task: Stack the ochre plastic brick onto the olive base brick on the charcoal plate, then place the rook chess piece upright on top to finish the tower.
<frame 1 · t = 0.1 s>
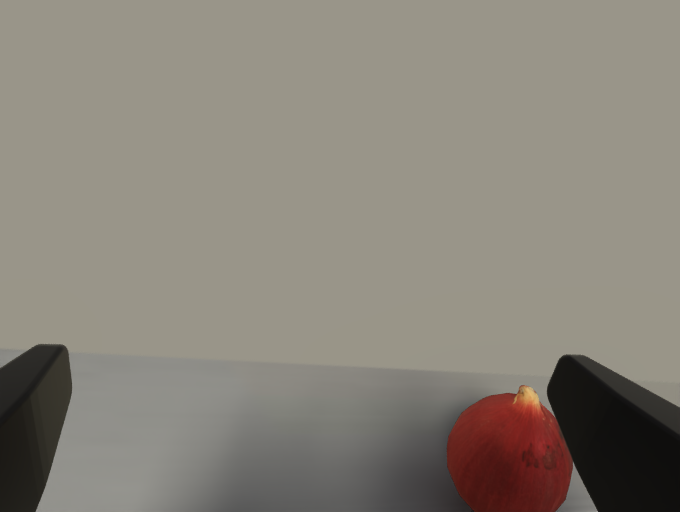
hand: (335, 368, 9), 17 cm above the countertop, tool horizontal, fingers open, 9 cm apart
onion: (485, 509, 27), on the countertop
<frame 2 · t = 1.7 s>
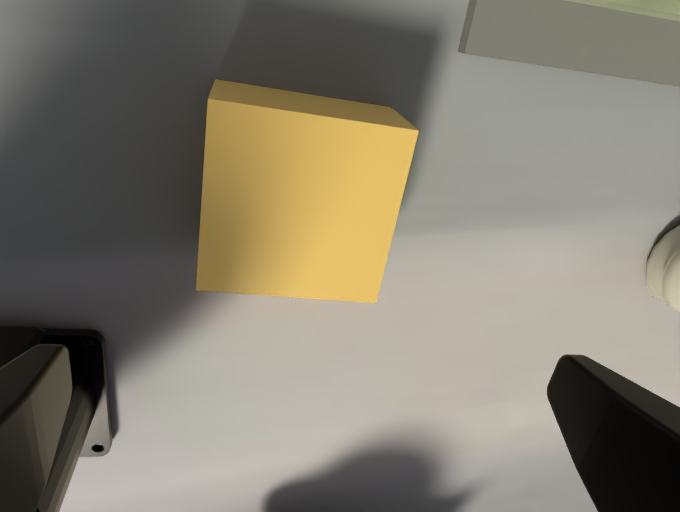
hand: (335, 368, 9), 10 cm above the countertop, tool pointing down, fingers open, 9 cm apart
ochre brick: (294, 176, 18), on the countertop
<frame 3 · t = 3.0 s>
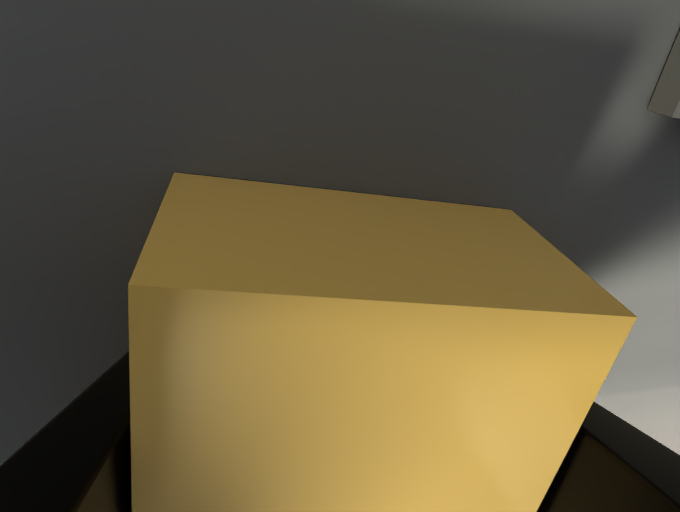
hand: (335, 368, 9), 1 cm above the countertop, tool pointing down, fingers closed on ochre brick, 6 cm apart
ochre brick: (327, 333, 10), on the countertop, touching gripper
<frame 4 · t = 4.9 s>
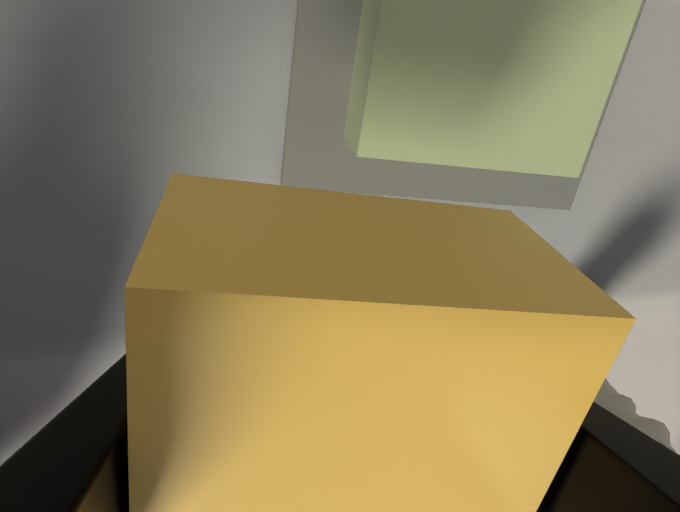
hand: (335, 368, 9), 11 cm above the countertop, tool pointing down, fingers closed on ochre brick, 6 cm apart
baseplate: (467, 31, 18), on the countertop
ochre brick: (326, 334, 10), point 10 cm above the countertop, touching gripper
rook chess piece: (529, 336, 25), on the countertop
when the fingers open (5 cm above the countertop, at t = 6.8 s): ochre brick stays where it is, resting on baseplate.
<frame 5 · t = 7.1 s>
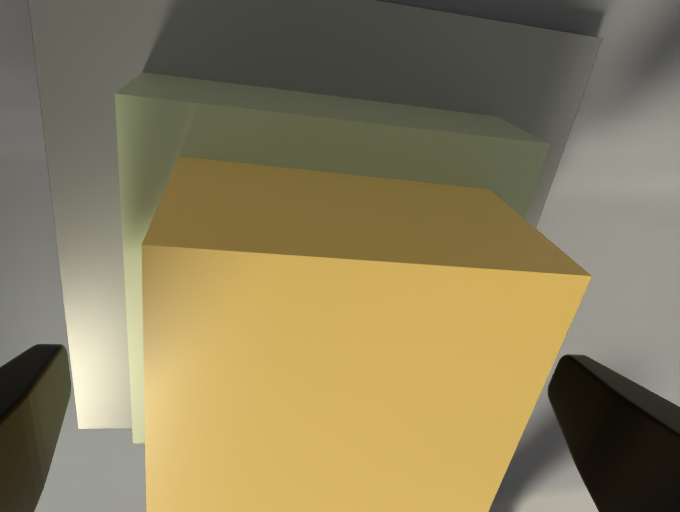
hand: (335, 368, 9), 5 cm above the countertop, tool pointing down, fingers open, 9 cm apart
baseplate: (308, 244, 13), on the countertop
ochre brick: (321, 306, 11), point 3 cm above the countertop, touching baseplate
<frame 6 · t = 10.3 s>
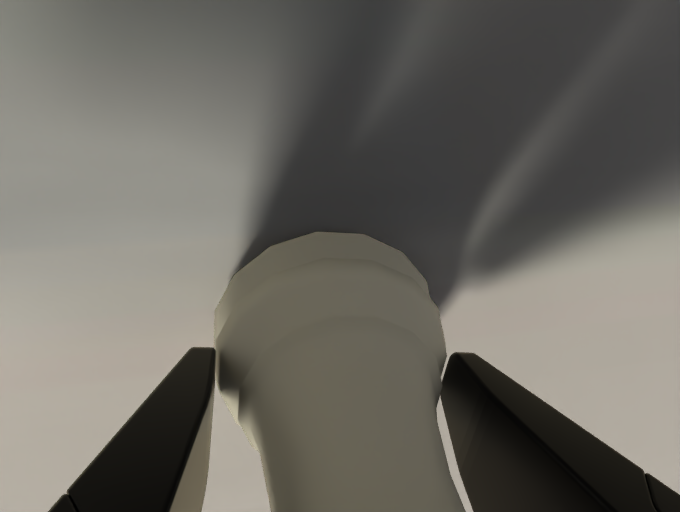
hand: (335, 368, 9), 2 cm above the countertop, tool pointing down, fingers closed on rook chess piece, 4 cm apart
rook chess piece: (322, 312, 11), on the countertop, touching gripper
when the fingers open (9 cm above the countertop, at t = 13.5 s): rook chess piece stays where it is, resting on ochre brick.
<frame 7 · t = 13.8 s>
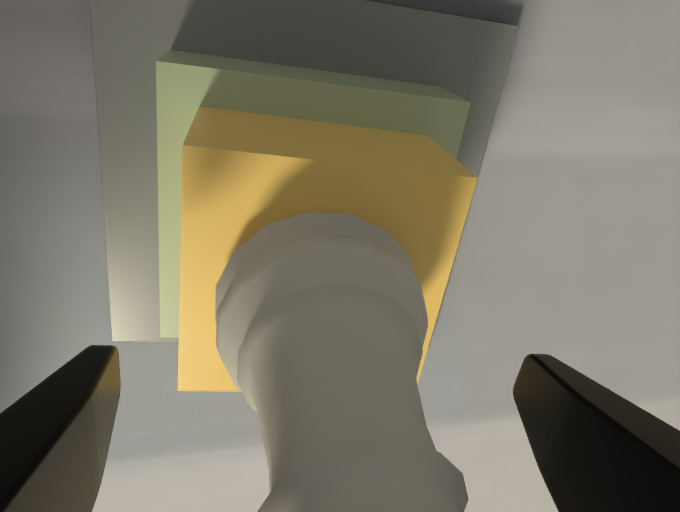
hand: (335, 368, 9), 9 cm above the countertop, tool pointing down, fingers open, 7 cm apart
baseplate: (296, 190, 17), on the countertop
ochre brick: (304, 226, 14), point 3 cm above the countertop, touching baseplate, rook chess piece
rook chess piece: (315, 289, 12), point 6 cm above the countertop, touching ochre brick
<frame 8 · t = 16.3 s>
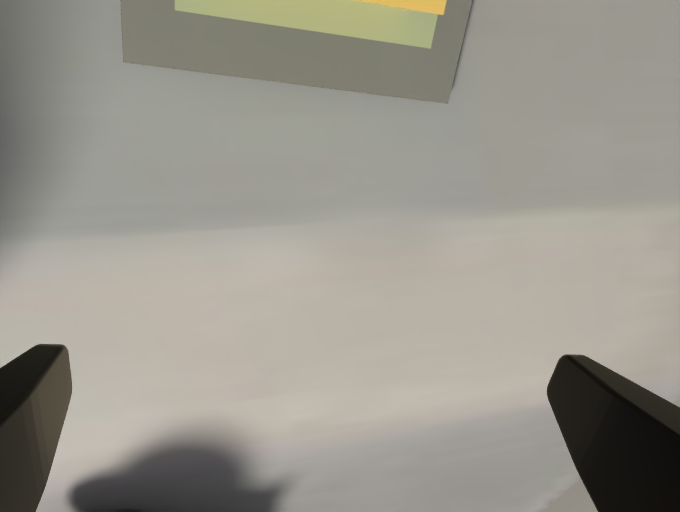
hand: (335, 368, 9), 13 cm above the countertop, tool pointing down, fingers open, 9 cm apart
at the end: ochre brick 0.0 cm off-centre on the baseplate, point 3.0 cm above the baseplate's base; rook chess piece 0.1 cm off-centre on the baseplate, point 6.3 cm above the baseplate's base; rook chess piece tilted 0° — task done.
